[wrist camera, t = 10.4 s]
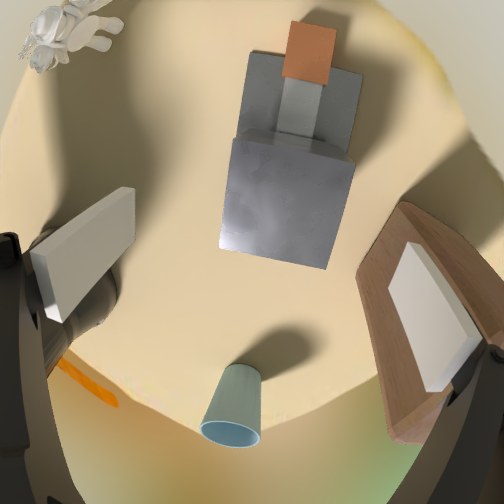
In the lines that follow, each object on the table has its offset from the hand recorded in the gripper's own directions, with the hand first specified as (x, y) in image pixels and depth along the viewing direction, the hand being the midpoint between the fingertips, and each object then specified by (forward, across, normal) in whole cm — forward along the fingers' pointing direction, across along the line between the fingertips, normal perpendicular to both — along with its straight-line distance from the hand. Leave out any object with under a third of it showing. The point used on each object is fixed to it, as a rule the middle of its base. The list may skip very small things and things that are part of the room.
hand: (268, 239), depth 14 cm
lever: (+15, +1, +4) cm, 16 cm away
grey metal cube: (+12, +1, 0) cm, 12 cm away
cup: (+16, +1, -30) cm, 34 cm away
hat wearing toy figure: (+16, -19, +12) cm, 28 cm away
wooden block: (+15, +16, -6) cm, 23 cm away
